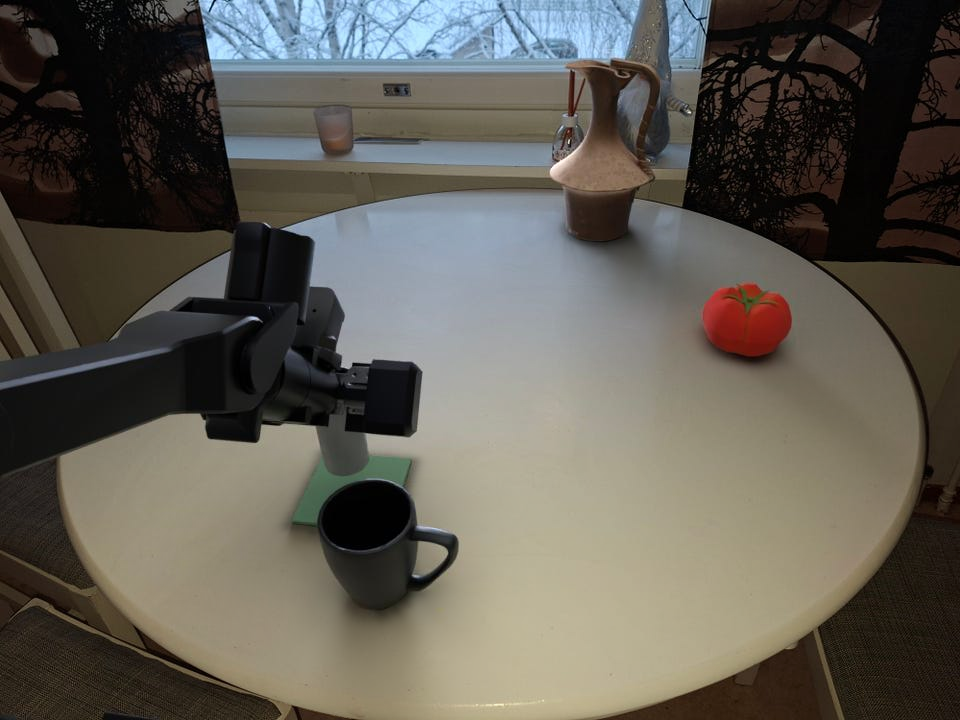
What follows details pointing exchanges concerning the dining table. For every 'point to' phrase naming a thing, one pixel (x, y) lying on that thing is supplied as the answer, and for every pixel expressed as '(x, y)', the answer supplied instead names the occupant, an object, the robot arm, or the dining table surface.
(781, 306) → the tomato
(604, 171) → the pitcher
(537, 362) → the dining table surface
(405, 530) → the mug
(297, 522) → the green mat
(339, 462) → the grey tumbler
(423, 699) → the dining table surface
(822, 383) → the dining table surface
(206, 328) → the robot arm
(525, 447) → the dining table surface
